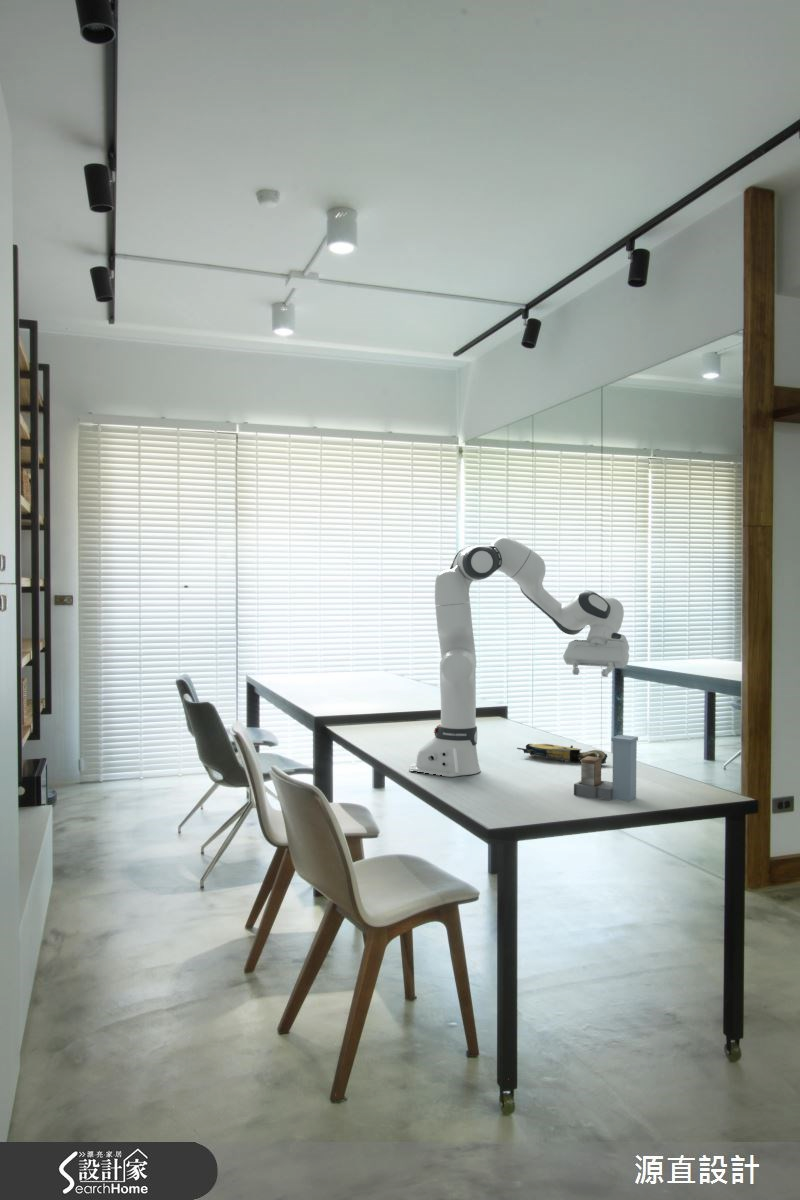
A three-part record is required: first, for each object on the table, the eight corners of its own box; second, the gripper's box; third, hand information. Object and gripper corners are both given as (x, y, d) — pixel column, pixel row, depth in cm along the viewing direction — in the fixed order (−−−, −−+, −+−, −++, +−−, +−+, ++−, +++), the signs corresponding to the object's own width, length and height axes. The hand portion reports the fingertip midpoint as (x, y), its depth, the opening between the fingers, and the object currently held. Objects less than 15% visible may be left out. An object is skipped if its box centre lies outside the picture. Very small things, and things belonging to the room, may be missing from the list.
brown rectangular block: (580, 794, 238) (580, 759, 238) (587, 790, 242) (587, 756, 242) (594, 796, 236) (594, 761, 235) (601, 792, 240) (601, 757, 240)
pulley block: (595, 750, 269) (516, 738, 288) (594, 768, 268) (514, 756, 288) (616, 750, 279) (537, 739, 299) (614, 768, 279) (536, 756, 298)
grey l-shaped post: (573, 794, 238) (574, 734, 237) (585, 788, 245) (585, 730, 244) (629, 803, 229) (629, 740, 228) (639, 796, 236) (639, 735, 236)
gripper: (567, 633, 272) (555, 666, 264) (629, 635, 261) (618, 669, 253) (572, 646, 276) (560, 678, 268) (634, 649, 265) (623, 683, 257)
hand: (589, 674), depth 261 cm, fingers open, 8 cm apart
